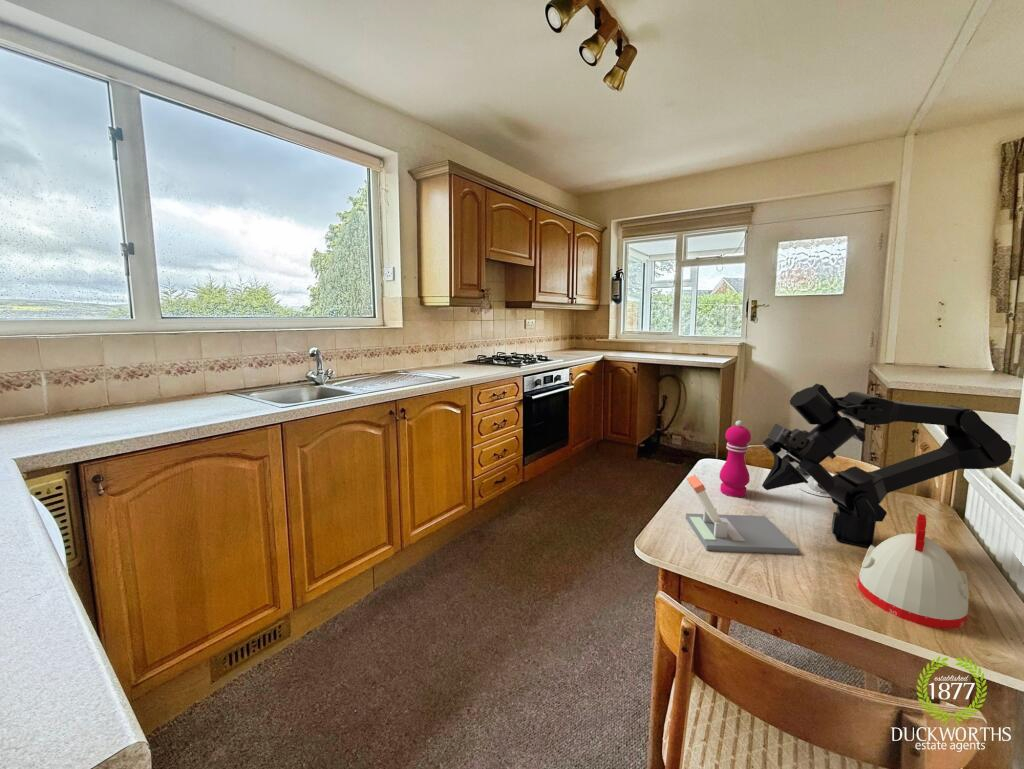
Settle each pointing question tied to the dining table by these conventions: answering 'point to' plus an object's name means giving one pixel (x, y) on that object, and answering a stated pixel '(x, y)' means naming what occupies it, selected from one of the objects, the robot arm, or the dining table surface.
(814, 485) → the teacup
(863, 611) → the dining table surface
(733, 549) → the switch panel
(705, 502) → the switch lever
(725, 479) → the pepper mill
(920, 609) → the kitchen timer
